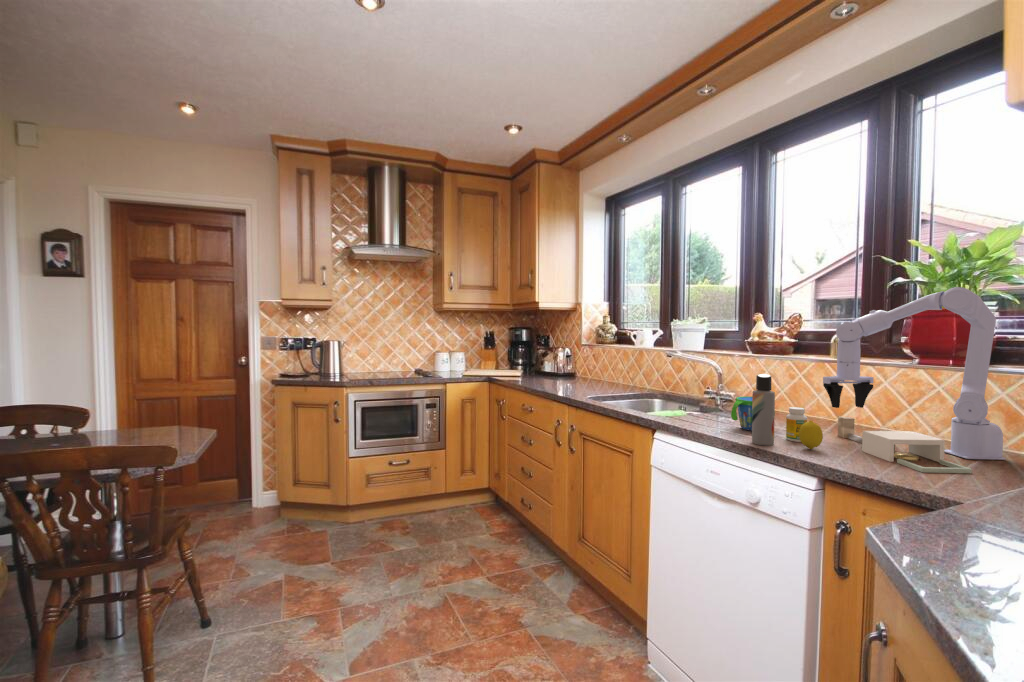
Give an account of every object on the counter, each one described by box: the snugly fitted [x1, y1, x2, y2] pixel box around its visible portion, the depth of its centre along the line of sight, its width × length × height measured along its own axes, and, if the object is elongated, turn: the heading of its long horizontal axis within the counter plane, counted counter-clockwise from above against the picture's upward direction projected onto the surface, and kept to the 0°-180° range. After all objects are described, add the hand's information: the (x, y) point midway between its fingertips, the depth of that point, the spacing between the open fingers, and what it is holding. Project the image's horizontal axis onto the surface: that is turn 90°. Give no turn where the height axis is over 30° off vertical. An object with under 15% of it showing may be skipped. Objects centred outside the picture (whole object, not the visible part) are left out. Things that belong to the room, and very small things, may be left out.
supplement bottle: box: [785, 406, 808, 443], centre depth 141 cm, size 5×5×10 cm
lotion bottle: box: [751, 373, 776, 447], centre depth 136 cm, size 6×6×20 cm
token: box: [894, 451, 920, 462], centre depth 121 cm, size 5×5×1 cm
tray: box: [896, 459, 973, 474], centre depth 113 cm, size 11×8×1 cm
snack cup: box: [730, 396, 753, 432], centre depth 156 cm, size 16×10×10 cm
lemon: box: [799, 420, 824, 450], centre depth 130 cm, size 6×6×8 cm
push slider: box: [837, 416, 896, 452], centre depth 137 cm, size 18×6×6 cm, turn 177°
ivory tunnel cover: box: [861, 430, 946, 463], centre depth 123 cm, size 13×10×6 cm
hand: (847, 407), depth 142 cm, fingers open, 7 cm apart
